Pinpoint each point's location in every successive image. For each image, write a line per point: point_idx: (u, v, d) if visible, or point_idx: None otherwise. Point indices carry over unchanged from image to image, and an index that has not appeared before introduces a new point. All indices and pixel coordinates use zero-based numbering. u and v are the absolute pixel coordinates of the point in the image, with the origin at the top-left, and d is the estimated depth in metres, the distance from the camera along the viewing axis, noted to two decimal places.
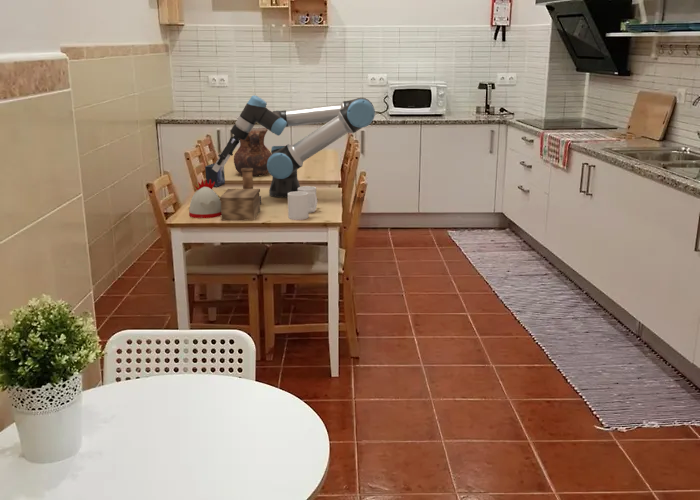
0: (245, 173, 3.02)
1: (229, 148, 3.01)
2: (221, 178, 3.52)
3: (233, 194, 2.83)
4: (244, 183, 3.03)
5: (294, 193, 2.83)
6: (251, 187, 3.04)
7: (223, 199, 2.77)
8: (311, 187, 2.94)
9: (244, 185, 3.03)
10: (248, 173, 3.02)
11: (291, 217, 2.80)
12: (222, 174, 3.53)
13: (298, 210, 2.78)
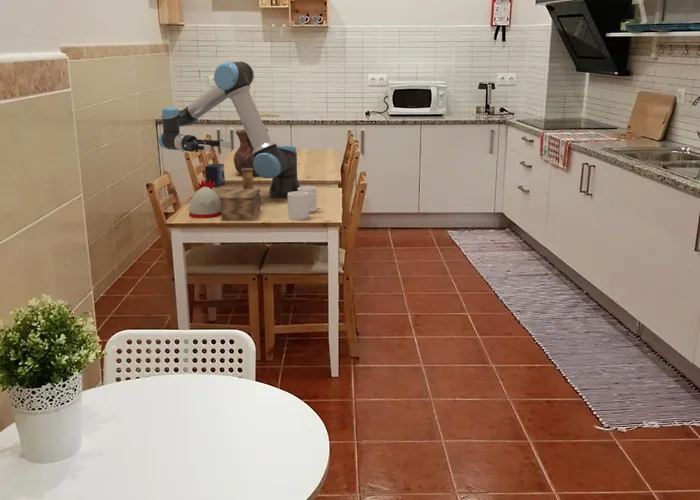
0: (245, 173, 3.02)
1: (188, 145, 3.10)
2: (221, 178, 3.52)
3: (233, 194, 2.83)
4: (244, 183, 3.03)
5: (294, 193, 2.83)
6: (251, 187, 3.04)
7: (223, 199, 2.77)
8: (311, 187, 2.94)
9: (244, 185, 3.03)
10: (248, 173, 3.02)
11: (291, 217, 2.80)
12: (222, 174, 3.53)
13: (298, 210, 2.78)
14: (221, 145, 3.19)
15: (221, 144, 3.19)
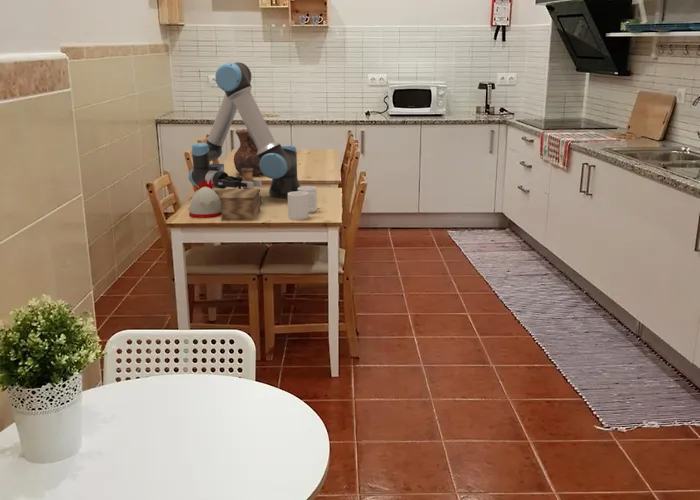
0: (245, 173, 3.02)
1: (226, 182, 3.04)
2: None
3: (233, 194, 2.83)
4: None
5: (294, 193, 2.83)
6: None
7: (223, 199, 2.77)
8: (311, 187, 2.94)
9: None
10: (248, 173, 3.02)
11: (291, 217, 2.80)
12: None
13: (298, 210, 2.78)
14: None
15: None
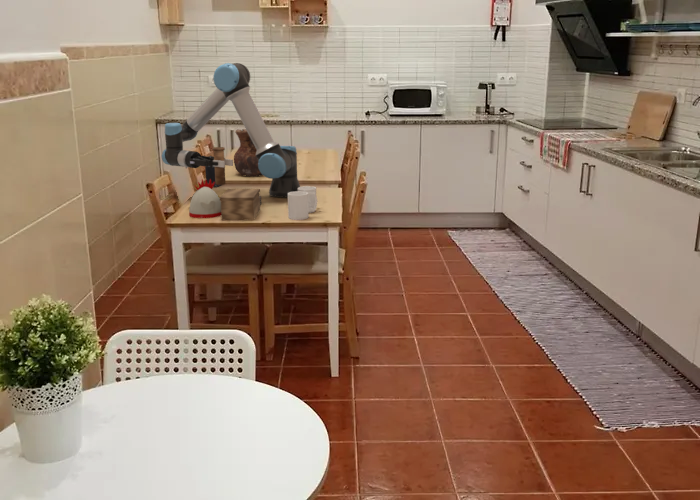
0: (216, 152, 3.03)
1: (198, 161, 3.05)
2: None
3: (233, 194, 2.83)
4: None
5: (294, 193, 2.83)
6: None
7: (223, 199, 2.77)
8: (311, 187, 2.94)
9: None
10: (219, 152, 3.03)
11: (291, 217, 2.80)
12: None
13: (298, 210, 2.78)
14: None
15: None
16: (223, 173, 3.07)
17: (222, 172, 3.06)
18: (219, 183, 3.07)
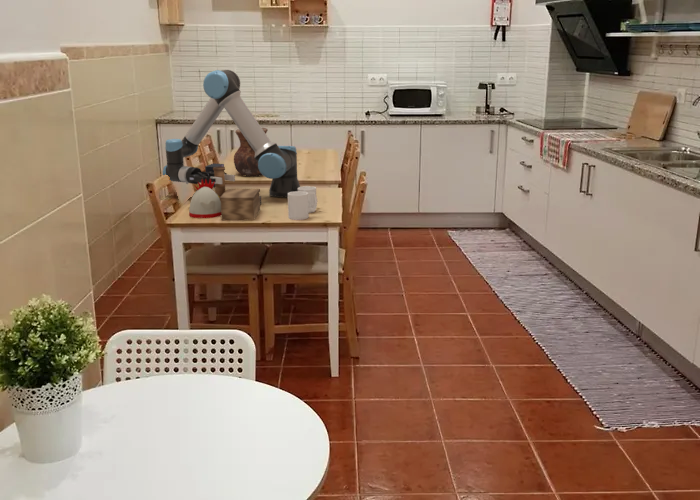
0: (217, 172, 3.06)
1: (196, 178, 3.07)
2: None
3: (233, 194, 2.83)
4: None
5: (294, 193, 2.83)
6: (223, 186, 3.08)
7: (223, 199, 2.77)
8: (311, 187, 2.94)
9: (216, 184, 3.07)
10: (220, 172, 3.06)
11: (291, 217, 2.80)
12: None
13: (298, 210, 2.78)
14: None
15: None
16: (224, 192, 3.09)
17: (223, 191, 3.09)
18: None
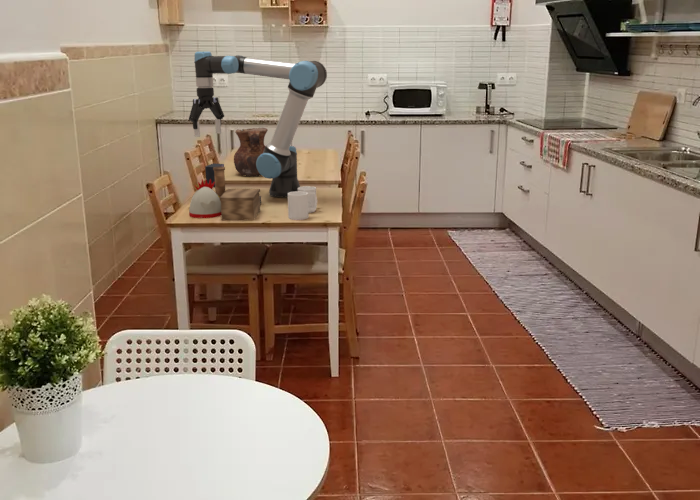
0: (217, 172, 3.06)
1: (194, 109, 3.07)
2: None
3: (233, 194, 2.83)
4: (216, 182, 3.07)
5: (294, 193, 2.83)
6: (223, 186, 3.08)
7: (223, 199, 2.77)
8: (311, 187, 2.94)
9: (216, 184, 3.07)
10: (220, 172, 3.06)
11: (291, 217, 2.80)
12: None
13: (298, 210, 2.78)
14: (216, 121, 3.21)
15: (217, 121, 3.21)
16: (224, 192, 3.09)
17: (223, 191, 3.09)
18: None
